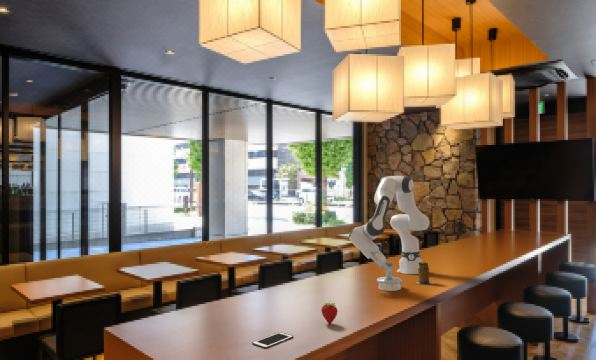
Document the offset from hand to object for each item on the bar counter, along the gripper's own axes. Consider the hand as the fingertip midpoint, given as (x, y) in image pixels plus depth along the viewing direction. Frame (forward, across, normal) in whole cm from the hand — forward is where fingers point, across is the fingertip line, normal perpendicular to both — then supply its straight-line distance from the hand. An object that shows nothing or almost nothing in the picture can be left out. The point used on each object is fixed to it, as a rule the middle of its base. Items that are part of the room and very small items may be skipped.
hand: (390, 268), depth 224 cm
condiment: (+22, +15, -6) cm, 27 cm away
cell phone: (-22, -88, +38) cm, 99 cm away
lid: (+4, 0, +5) cm, 7 cm away
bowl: (+7, 0, +8) cm, 11 cm away
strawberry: (-10, -66, +26) cm, 71 cm away
